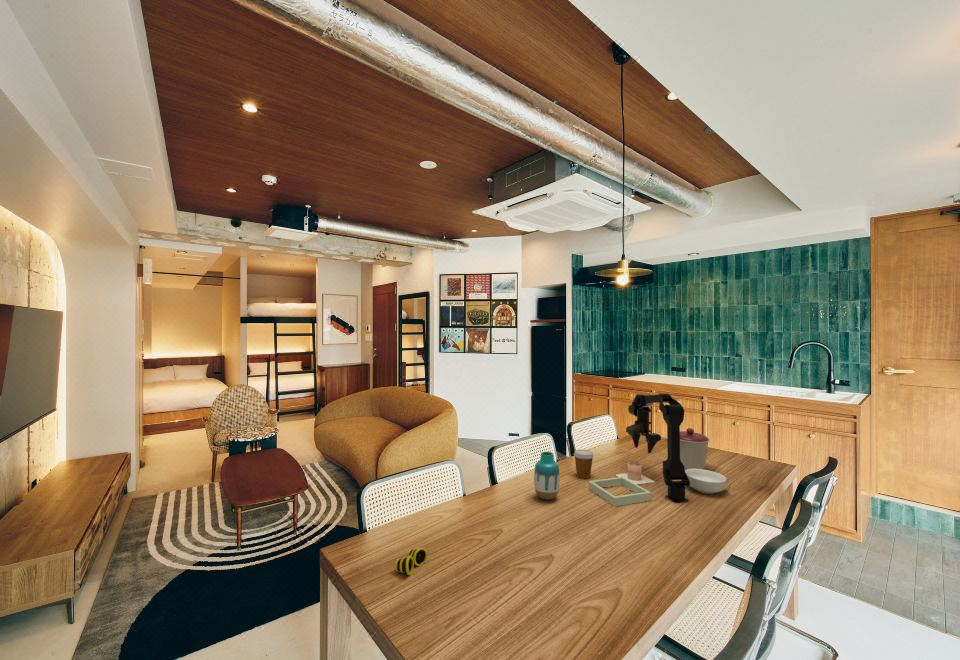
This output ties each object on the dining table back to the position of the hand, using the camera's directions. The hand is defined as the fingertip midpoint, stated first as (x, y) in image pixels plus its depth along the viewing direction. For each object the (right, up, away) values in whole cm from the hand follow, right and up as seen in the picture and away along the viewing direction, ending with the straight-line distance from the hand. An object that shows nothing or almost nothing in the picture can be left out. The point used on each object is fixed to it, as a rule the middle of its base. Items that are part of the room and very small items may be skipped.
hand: (642, 450), depth 199 cm
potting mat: (-6, -12, -6) cm, 15 cm away
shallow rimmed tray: (-20, -12, -25) cm, 34 cm away
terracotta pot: (-7, -12, -6) cm, 15 cm away
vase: (-53, -12, -29) cm, 61 cm away
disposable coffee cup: (-30, -12, -4) cm, 33 cm away
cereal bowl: (+21, -13, -18) cm, 30 cm away
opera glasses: (-102, -12, -79) cm, 129 cm away
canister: (+28, -13, +9) cm, 32 cm away
